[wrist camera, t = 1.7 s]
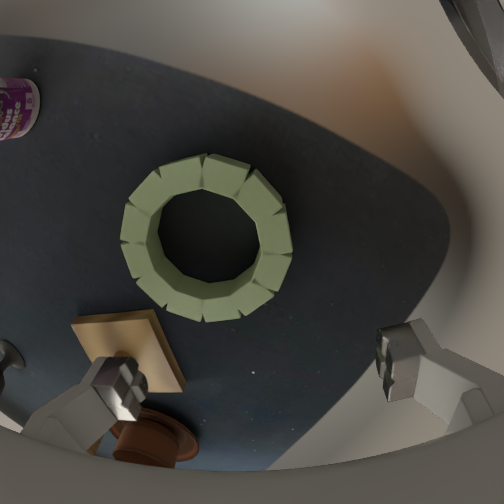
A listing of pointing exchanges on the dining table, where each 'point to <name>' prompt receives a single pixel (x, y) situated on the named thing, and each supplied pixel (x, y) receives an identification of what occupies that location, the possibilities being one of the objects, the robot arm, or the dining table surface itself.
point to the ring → (189, 289)
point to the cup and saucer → (153, 440)
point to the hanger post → (131, 347)
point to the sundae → (9, 360)
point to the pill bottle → (17, 107)
